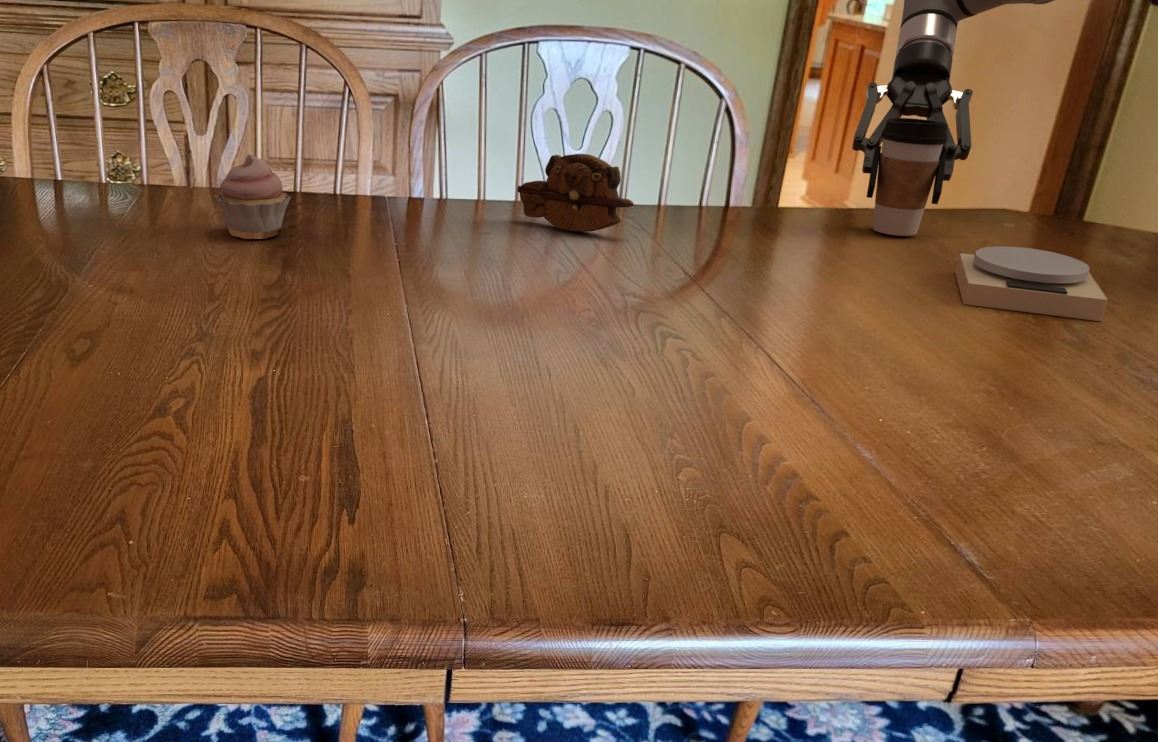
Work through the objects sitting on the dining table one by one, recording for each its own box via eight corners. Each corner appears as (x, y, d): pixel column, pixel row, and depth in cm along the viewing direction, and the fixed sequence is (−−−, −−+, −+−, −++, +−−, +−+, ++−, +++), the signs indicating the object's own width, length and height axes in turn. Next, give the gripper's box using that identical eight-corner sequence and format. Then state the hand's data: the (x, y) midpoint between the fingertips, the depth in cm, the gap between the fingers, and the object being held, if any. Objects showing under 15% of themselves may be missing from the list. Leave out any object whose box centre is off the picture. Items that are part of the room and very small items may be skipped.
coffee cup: (885, 239, 148) (908, 124, 141) (850, 223, 155) (871, 114, 149) (939, 237, 150) (965, 124, 143) (903, 222, 157) (926, 114, 151)
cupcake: (203, 230, 139) (198, 150, 135) (269, 222, 145) (267, 144, 140) (237, 247, 133) (233, 163, 128) (305, 238, 138) (303, 157, 134)
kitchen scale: (1080, 287, 131) (1089, 254, 130) (1101, 321, 119) (1112, 286, 118) (954, 272, 135) (962, 240, 134) (963, 304, 123) (971, 269, 122)
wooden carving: (508, 224, 149) (513, 149, 144) (523, 218, 152) (528, 144, 148) (622, 244, 141) (630, 165, 137) (635, 237, 145) (643, 160, 141)
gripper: (996, 80, 155) (979, 218, 148) (844, 70, 161) (821, 203, 153) (1009, 43, 148) (992, 186, 141) (850, 34, 154) (826, 171, 147)
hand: (903, 194), depth 147 cm, fingers closed on coffee cup, 8 cm apart
